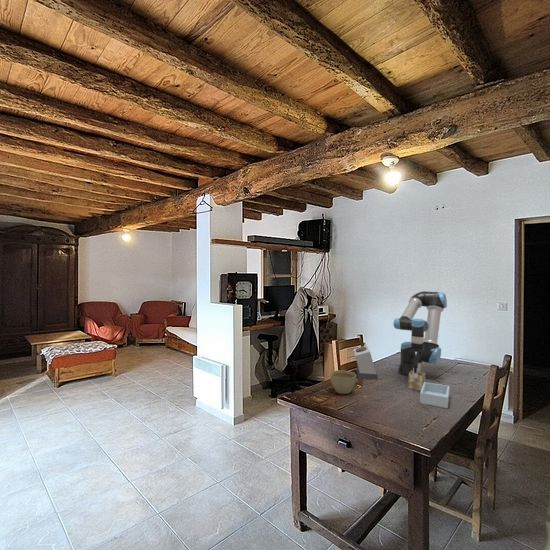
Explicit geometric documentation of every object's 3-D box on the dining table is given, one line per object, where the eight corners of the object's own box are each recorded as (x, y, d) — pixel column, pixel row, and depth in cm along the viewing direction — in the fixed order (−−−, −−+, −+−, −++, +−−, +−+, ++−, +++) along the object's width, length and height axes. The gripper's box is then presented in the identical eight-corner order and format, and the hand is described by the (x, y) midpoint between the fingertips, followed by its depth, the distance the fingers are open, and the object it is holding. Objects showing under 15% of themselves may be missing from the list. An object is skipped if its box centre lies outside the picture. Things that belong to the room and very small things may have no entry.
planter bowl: (337, 385, 219) (337, 368, 219) (360, 390, 209) (360, 373, 209) (324, 391, 207) (325, 374, 207) (348, 398, 197) (348, 379, 196)
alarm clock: (378, 379, 231) (378, 350, 231) (354, 378, 234) (355, 349, 234) (374, 371, 252) (374, 344, 251) (353, 370, 254) (353, 343, 254)
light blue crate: (419, 403, 190) (420, 392, 190) (424, 391, 209) (424, 381, 209) (447, 408, 183) (447, 397, 183) (449, 395, 202) (449, 385, 202)
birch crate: (408, 388, 215) (408, 374, 215) (410, 384, 223) (410, 370, 223) (423, 390, 211) (423, 376, 211) (425, 386, 219) (425, 372, 219)
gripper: (421, 346, 204) (420, 381, 204) (425, 340, 226) (425, 371, 226) (408, 345, 208) (407, 379, 208) (413, 339, 230) (413, 370, 229)
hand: (416, 375), depth 217 cm, fingers open, 13 cm apart
